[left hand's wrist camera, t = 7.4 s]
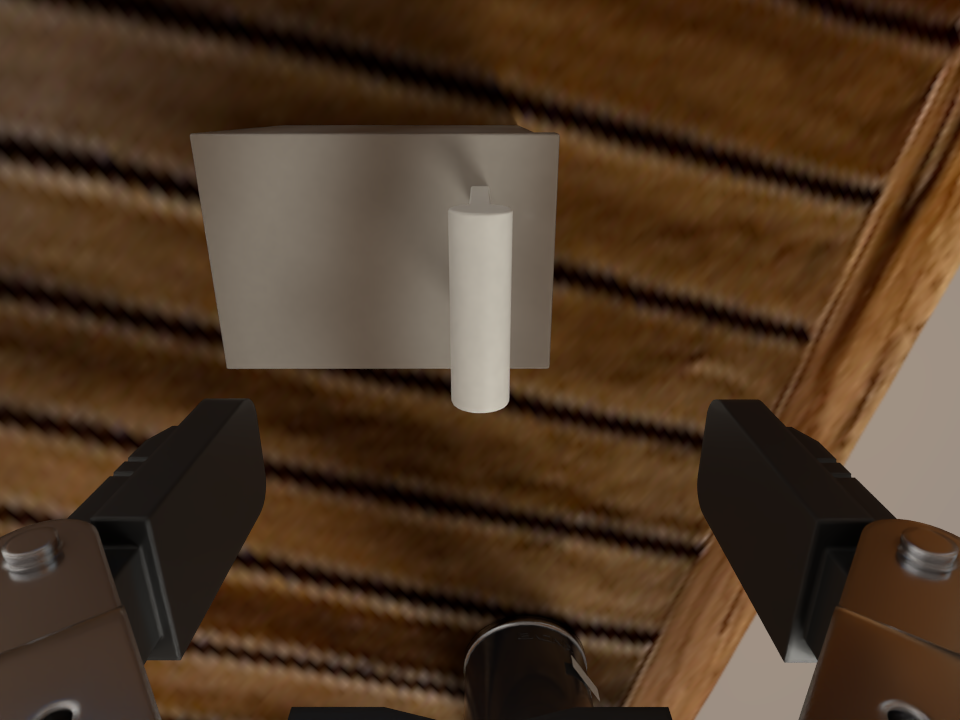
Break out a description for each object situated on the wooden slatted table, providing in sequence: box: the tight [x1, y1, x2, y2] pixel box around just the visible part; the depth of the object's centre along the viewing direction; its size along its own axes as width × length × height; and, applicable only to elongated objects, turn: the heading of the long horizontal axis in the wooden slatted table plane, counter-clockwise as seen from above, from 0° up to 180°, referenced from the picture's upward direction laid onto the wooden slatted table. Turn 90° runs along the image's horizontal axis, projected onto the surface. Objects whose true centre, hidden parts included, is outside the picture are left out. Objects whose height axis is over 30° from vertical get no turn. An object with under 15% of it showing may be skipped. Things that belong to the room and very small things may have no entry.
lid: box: [190, 133, 559, 413], centre depth 22 cm, size 14×10×9 cm
